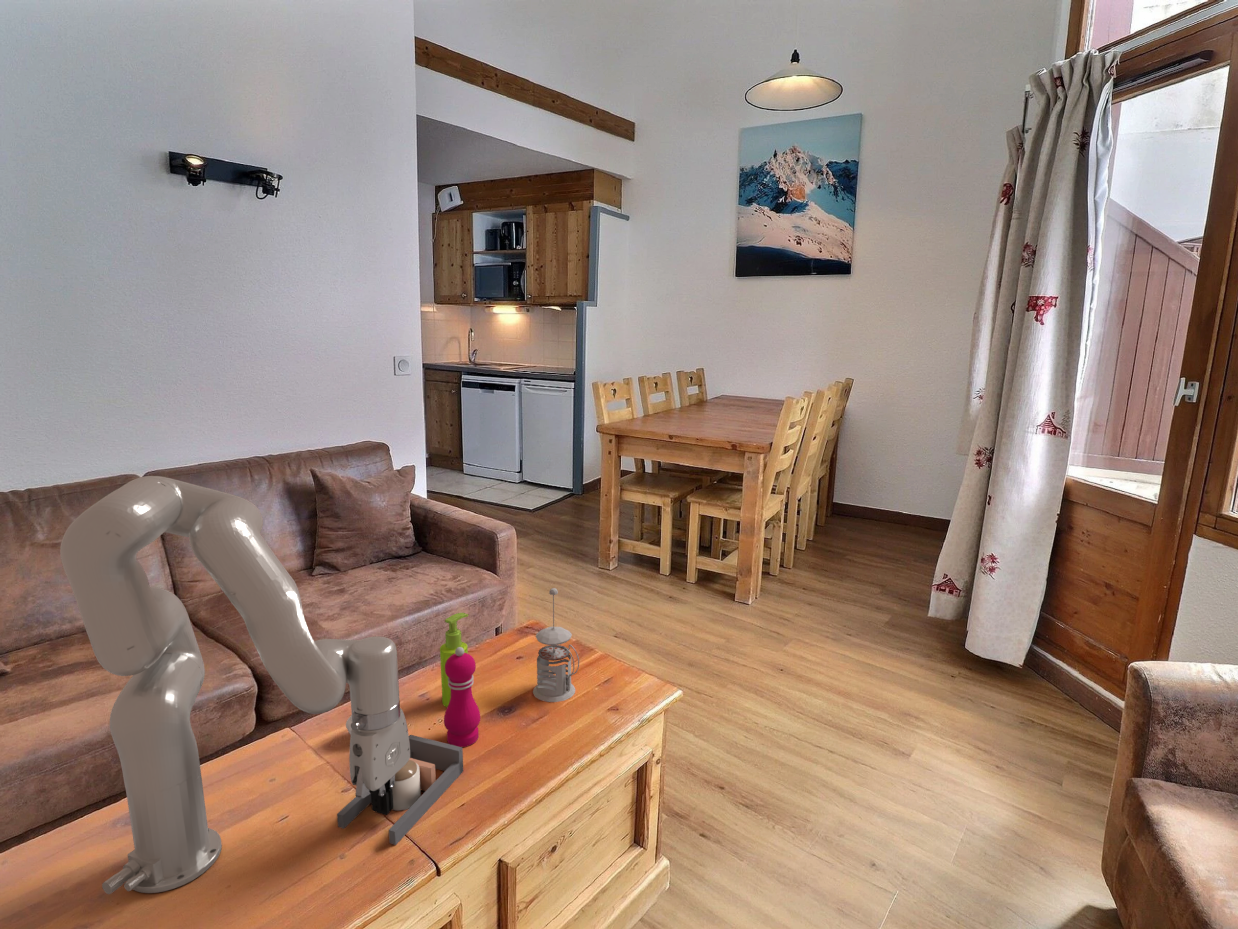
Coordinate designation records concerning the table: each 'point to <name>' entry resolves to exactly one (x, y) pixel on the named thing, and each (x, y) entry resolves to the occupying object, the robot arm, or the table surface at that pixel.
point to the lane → (445, 760)
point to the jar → (406, 786)
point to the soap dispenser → (450, 652)
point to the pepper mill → (461, 700)
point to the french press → (549, 684)
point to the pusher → (425, 774)
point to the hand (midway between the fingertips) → (382, 810)
